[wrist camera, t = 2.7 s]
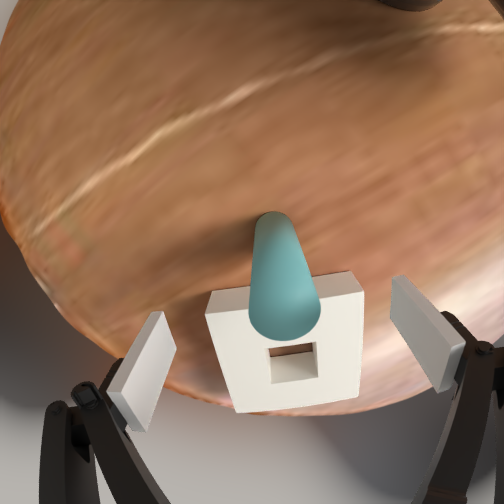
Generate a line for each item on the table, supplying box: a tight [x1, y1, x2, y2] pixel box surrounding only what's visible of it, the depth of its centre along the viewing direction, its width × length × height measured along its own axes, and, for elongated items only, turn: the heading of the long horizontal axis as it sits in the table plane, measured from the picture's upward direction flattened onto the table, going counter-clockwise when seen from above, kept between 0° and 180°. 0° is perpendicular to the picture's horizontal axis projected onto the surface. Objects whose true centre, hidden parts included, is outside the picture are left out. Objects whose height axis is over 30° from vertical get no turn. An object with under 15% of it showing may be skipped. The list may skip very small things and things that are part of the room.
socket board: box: [205, 271, 364, 413], centre depth 33 cm, size 16×16×5 cm
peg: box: [248, 212, 321, 341], centre depth 23 cm, size 4×4×16 cm
